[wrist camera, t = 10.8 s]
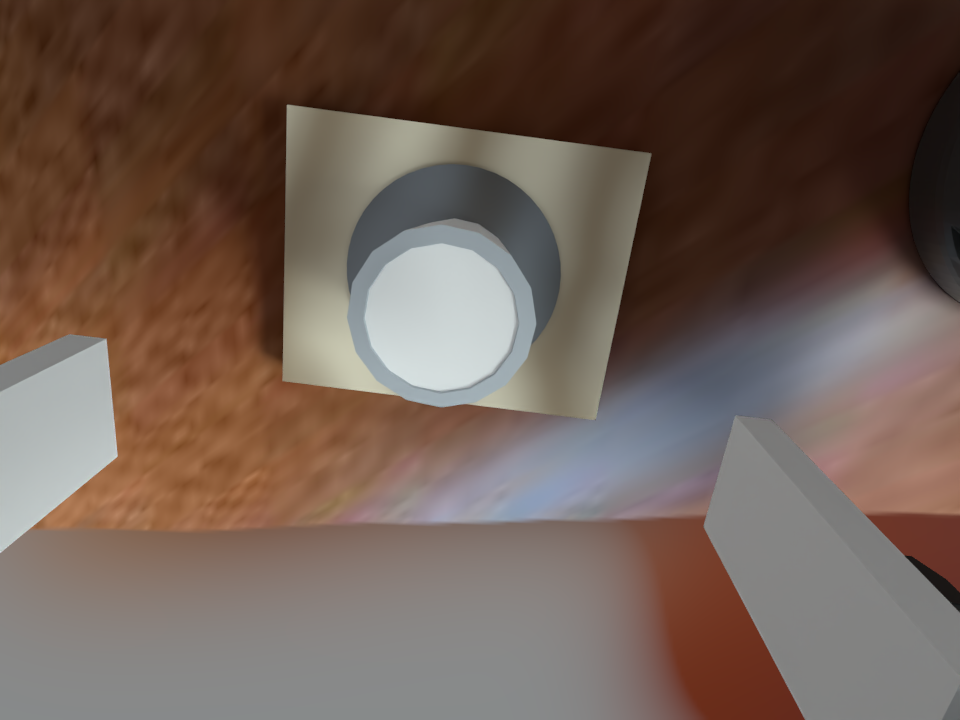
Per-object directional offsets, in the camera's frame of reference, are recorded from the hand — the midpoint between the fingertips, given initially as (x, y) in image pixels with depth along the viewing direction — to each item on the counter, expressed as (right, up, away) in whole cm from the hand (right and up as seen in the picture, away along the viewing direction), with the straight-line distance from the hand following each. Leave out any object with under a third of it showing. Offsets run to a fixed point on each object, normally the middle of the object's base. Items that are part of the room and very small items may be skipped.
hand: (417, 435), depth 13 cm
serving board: (0, +6, +18) cm, 19 cm away
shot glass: (0, +5, +16) cm, 17 cm away
